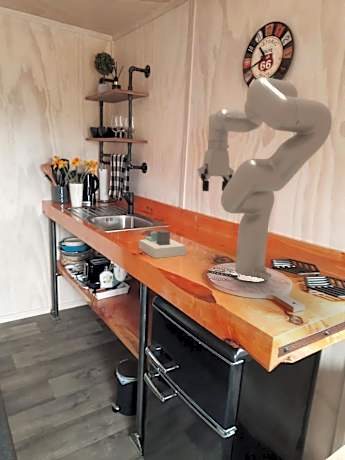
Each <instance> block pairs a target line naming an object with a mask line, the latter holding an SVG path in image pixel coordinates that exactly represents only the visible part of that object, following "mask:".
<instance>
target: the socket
mask: <svg viewBox="0 0 345 460" xmlns="http://www.w3.org/2000/svg"><path fill="white" fill-rule="evenodd" d="M138 243H139V248H138V249H139V250H140V251H142V252H143V253H146V254H147V255H149V257H150V256H151V257H152V258H153V259H163V258H171V257H181V256H186V251H187V250H186V249H187V246H186V245H185V244H183V243H180V242H178V241H176V240H173V239H171V238H170V245H158V244H157V241H150V240H148V239H146V238H145V239H139V241H138Z"/></svg>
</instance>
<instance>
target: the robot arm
mask: <svg viewBox="0 0 345 460" xmlns="http://www.w3.org/2000/svg"><path fill="white" fill-rule="evenodd" d="M243 108H244V110H239V109H238V110H237V109H229V108H221V109H219V110H218V111H216V112H214V113H211V114H210V116H209V118H208V135H207V149H206V150H205V153H204V156H203V164H202V165H201V167H199V168H197V173H198V176H199V178H200V179H201V181H202V184H201V185H202V192H209V190H210V188H209V187H210V181H209V179H210V178H211V177H221V179H222V180H223V181H221V192H222V193H221V196H220V204H221V207H222V208H223V210H224V211H225V212H227V213H228V214H229V213H230V214H243V215H242V216H241V219H240V221H239V224H238V233H237V245H236V258H235V268H234V269H235V271H236V272H237V273H239V274H241V275H245V276H251V277H257V278H262V279H264V280H266V281H268V280H269V278H271V277H272V273H271V272H268V271H267V268H268V267H267V266H265V263H266V262H265V261H266V253H267V252H266V251H267V243H268V232H269V224H270V220H271V219H270V217H271V213H272V211H273V207H274V204H275V193H274V192H278V191H280V190H282V189H284V188H285V186H286V185H288V183H289V182H290V181H291V180H292V179H293V178H294V177H295V175H296V174H297V173H298V172H299V171H300V170H301V168H302V167H303V166H304V165H305V164H306V163H307V162H308V161H309V160H310V159H311V158H312V157H313V156H314V155H315V154H316V153H317V152H318V151H319V150H320V149H321V148H322V147H323V145H324V144H325V143H326V141H327V139H328V138H329V135H330V133H331V129H332V126H333V125H332V124H333V118H332V117H333V115H332V113H331V110H330V108H329V107H328V106H327V105H325V104H324V103H322V102H320V101H317V100H313V99H307V98H300V97H299V94H298V90H297V88H296V86H295V85H294V84H293V83H292V82H290V81H287V80H283V79H277V78H271V77H266V76H264V77H263V76H262V77H258V78H256V79H255V80H254V81H253V82H252V83H251V84H250V85H249V87H248V89H247V91H246V100H245V102H244V106H243ZM263 123H264V124H266V126H267V127H269V128H270V129H273V130H275V131H280V132H290V133H295V134H294V135H293V136H292V137H289V138H288V139H286V140H285V141H284V142H283V143H281V144H280V145H279V147H278V148H277V149H276V150H275V152H274V153H273V154H272V155H271V156H270V157H268V158H250V159H246V160H245V161H243V162H242V163H241V164H240V165H239V166H238V168H236V170H234V169H233V168H232V167H230V155H229V151H228V149H229V148H230V145H229V142H228V141H229V140H228V139H229V132H232V133H233V132H234V133H249V132H252V131H254V130H257V129H259V128H260V127H261V126H262V125H263Z"/></svg>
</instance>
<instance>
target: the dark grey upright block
mask: <svg viewBox="0 0 345 460" xmlns="http://www.w3.org/2000/svg"><path fill="white" fill-rule="evenodd" d="M156 232H157V244H158V245H170V239H171V232H170V231H168V230H157V231H156Z"/></svg>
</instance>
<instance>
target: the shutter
mask: <svg viewBox="0 0 345 460" xmlns="http://www.w3.org/2000/svg"><path fill="white" fill-rule="evenodd" d="M150 235H151V236H149V235H148V236H144V239H145V240H146V239H148V240H150V241H157V231H156V232H151V234H150Z"/></svg>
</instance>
